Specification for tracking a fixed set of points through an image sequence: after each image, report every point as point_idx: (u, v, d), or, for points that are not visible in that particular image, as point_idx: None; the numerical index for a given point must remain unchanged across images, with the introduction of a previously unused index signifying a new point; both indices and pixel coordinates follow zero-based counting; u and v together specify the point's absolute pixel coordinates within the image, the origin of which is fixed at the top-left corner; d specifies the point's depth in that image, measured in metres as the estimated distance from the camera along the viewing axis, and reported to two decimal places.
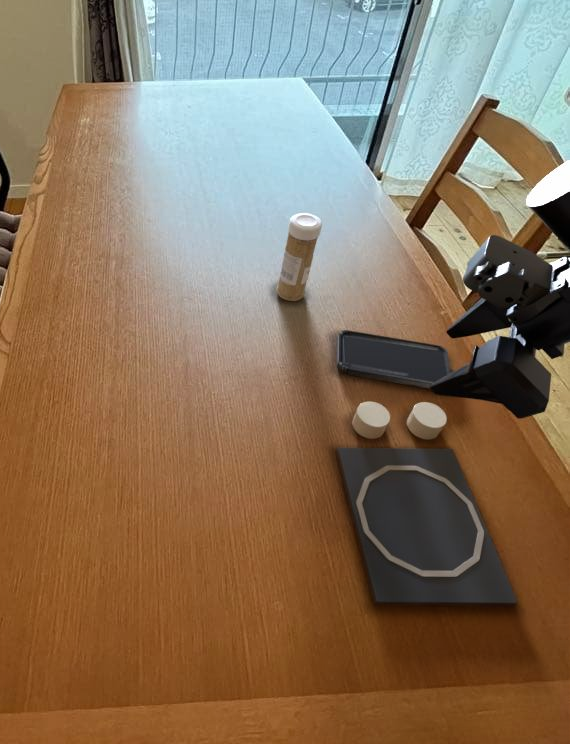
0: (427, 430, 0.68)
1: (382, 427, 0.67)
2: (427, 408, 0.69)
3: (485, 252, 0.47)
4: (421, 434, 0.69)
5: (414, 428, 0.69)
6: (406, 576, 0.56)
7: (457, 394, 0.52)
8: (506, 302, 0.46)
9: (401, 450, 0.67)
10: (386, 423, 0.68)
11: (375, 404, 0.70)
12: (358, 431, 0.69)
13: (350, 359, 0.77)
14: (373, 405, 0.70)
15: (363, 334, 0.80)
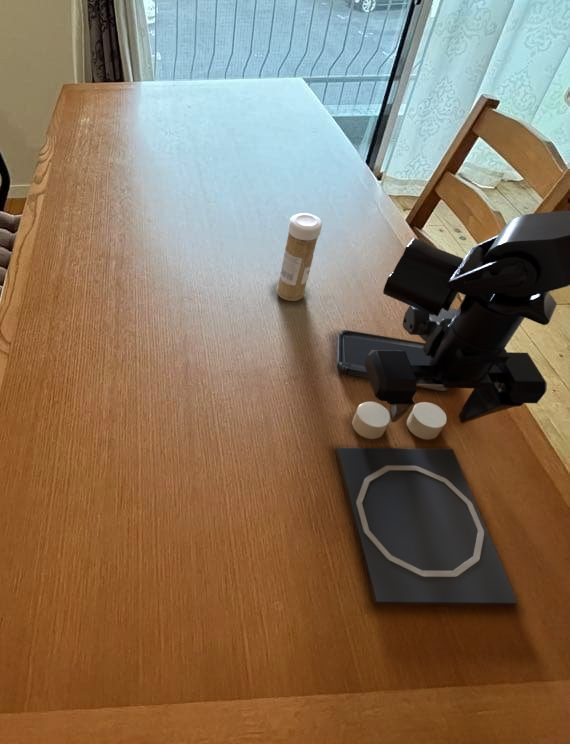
0: (427, 430, 0.68)
1: (382, 427, 0.67)
2: (427, 408, 0.69)
3: None
4: (421, 434, 0.69)
5: (414, 428, 0.69)
6: (406, 576, 0.56)
7: (393, 413, 0.67)
8: (410, 329, 0.65)
9: (401, 450, 0.67)
10: (386, 423, 0.68)
11: (375, 404, 0.70)
12: (358, 431, 0.69)
13: (350, 359, 0.77)
14: (373, 405, 0.70)
15: (363, 334, 0.80)
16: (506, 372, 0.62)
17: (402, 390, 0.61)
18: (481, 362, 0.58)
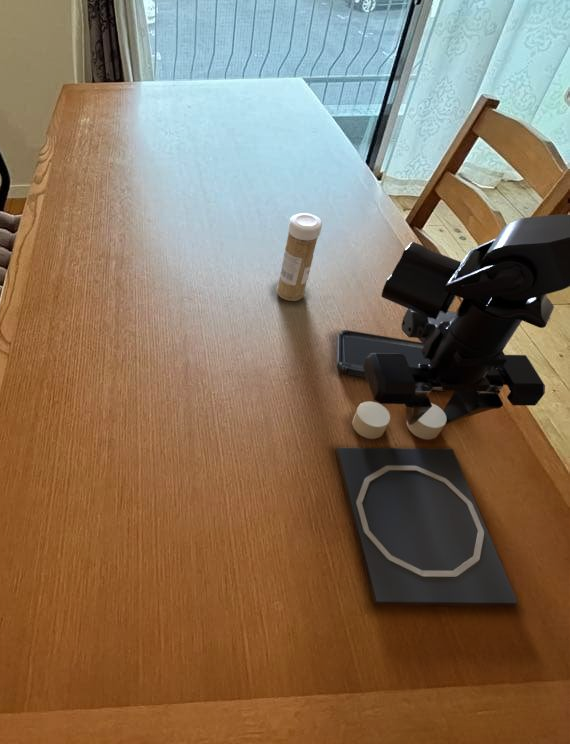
0: (427, 430, 0.68)
1: (382, 427, 0.67)
2: None
3: None
4: (421, 434, 0.69)
5: (414, 428, 0.69)
6: (406, 576, 0.56)
7: (410, 416, 0.68)
8: (409, 331, 0.65)
9: (401, 450, 0.67)
10: (386, 423, 0.68)
11: (375, 404, 0.70)
12: (358, 431, 0.69)
13: (350, 359, 0.77)
14: (373, 405, 0.70)
15: (363, 334, 0.80)
16: (504, 374, 0.63)
17: (401, 393, 0.61)
18: (479, 365, 0.58)
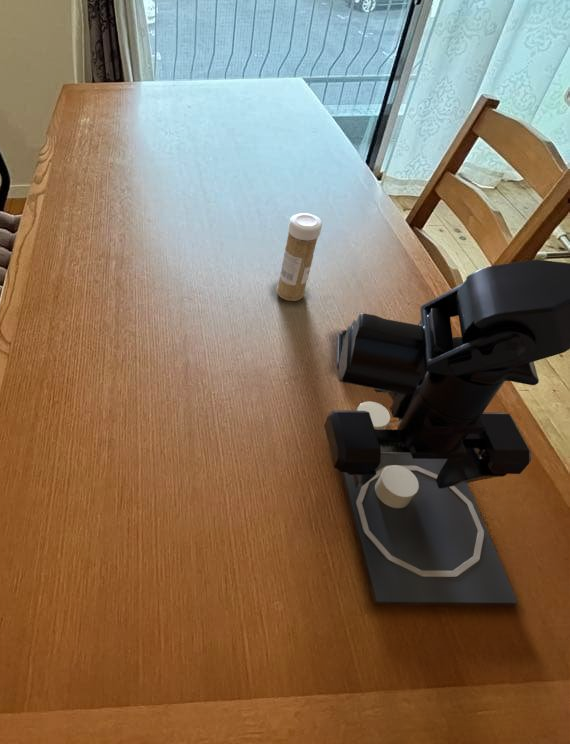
0: (396, 499, 0.60)
1: (382, 427, 0.67)
2: (397, 472, 0.62)
3: None
4: (390, 503, 0.61)
5: (382, 496, 0.61)
6: (406, 576, 0.56)
7: (356, 479, 0.59)
8: None
9: None
10: (386, 423, 0.68)
11: (375, 404, 0.70)
12: None
13: None
14: (373, 405, 0.70)
15: None
16: (484, 438, 0.54)
17: (364, 461, 0.53)
18: (453, 433, 0.50)
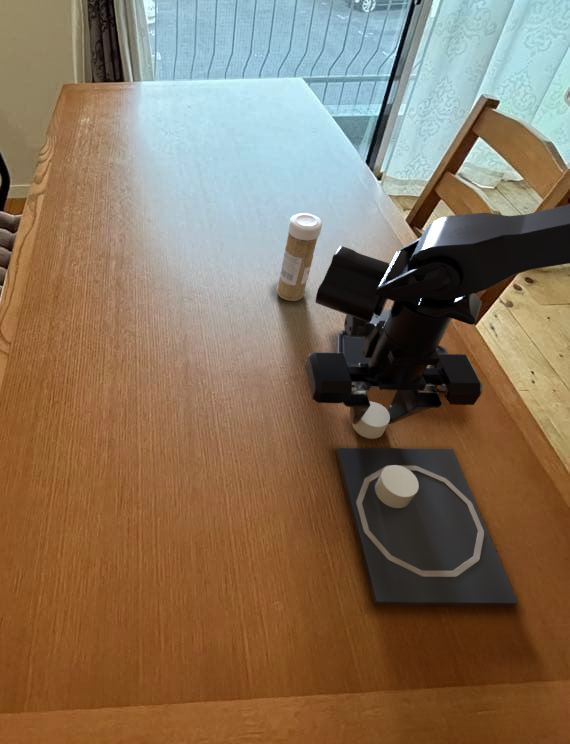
0: (396, 499, 0.60)
1: (382, 427, 0.67)
2: (397, 472, 0.62)
3: None
4: (390, 503, 0.61)
5: (382, 496, 0.61)
6: (406, 576, 0.56)
7: (352, 415, 0.67)
8: (350, 331, 0.65)
9: (401, 450, 0.67)
10: (386, 423, 0.68)
11: (375, 404, 0.70)
12: (358, 431, 0.69)
13: (350, 359, 0.77)
14: (373, 405, 0.70)
15: None
16: (443, 374, 0.63)
17: (337, 392, 0.61)
18: (413, 364, 0.58)
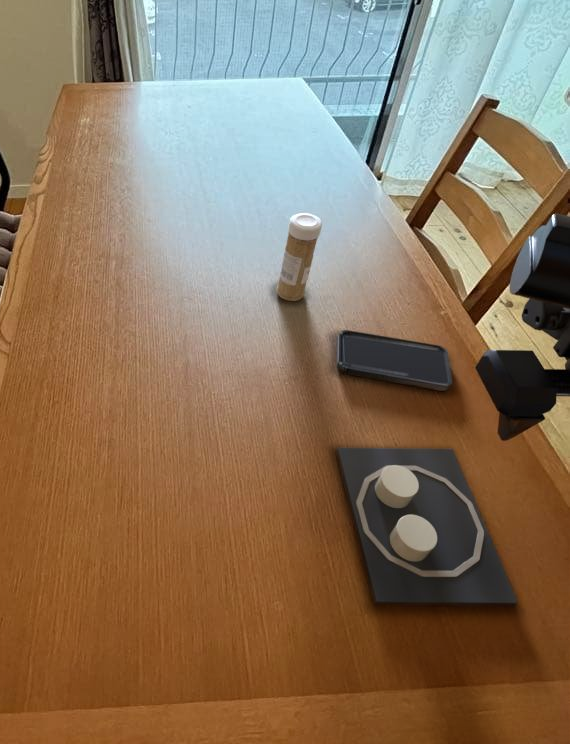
0: (396, 499, 0.60)
1: (428, 551, 0.56)
2: (397, 472, 0.62)
3: None
4: (390, 503, 0.61)
5: (382, 496, 0.61)
6: (406, 576, 0.56)
7: (507, 430, 0.53)
8: (536, 322, 0.51)
9: (401, 450, 0.67)
10: (433, 546, 0.56)
11: (418, 518, 0.58)
12: (398, 552, 0.57)
13: (350, 359, 0.77)
14: (416, 520, 0.58)
15: (363, 334, 0.80)
16: None
17: (537, 402, 0.46)
18: None
